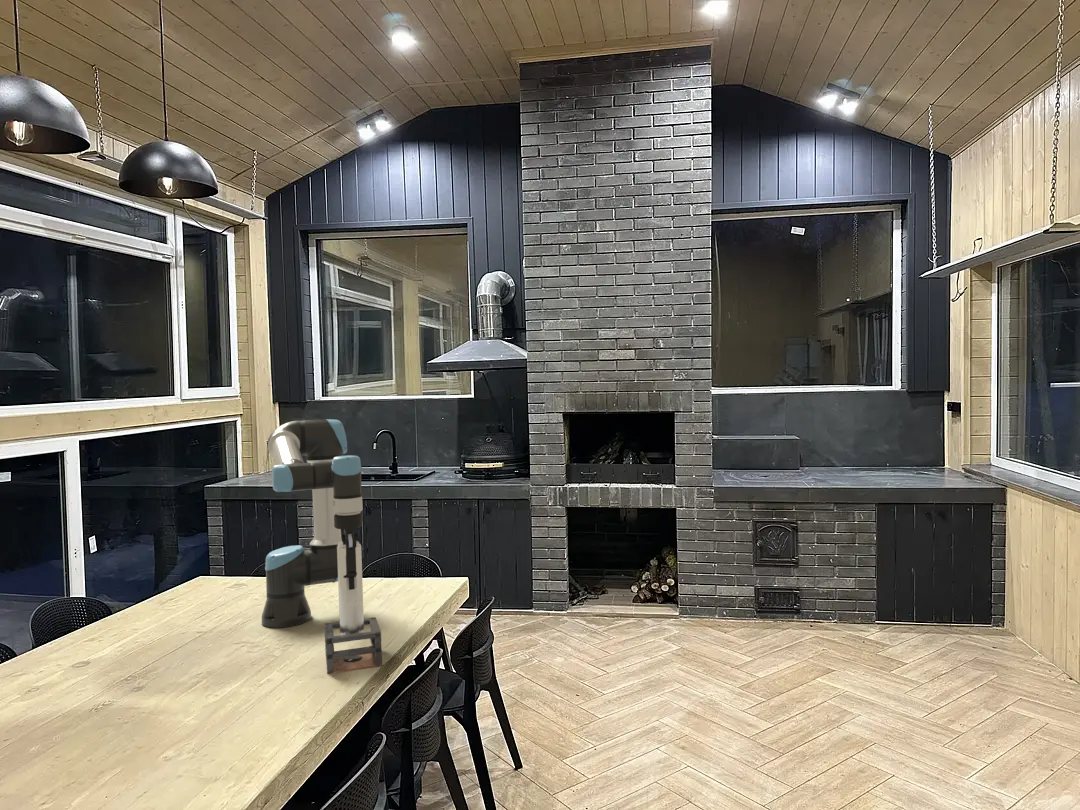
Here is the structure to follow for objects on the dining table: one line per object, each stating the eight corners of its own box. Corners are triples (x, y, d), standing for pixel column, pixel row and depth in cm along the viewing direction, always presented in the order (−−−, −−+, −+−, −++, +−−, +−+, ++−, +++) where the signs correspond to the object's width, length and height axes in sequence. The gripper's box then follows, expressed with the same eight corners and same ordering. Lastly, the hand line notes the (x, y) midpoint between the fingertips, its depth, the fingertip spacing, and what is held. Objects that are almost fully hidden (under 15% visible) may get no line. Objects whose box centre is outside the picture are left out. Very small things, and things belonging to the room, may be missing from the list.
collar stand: (325, 655, 198) (324, 623, 198) (376, 648, 203) (375, 617, 202) (327, 674, 185) (326, 639, 185) (382, 666, 189) (380, 632, 189)
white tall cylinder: (357, 637, 190) (354, 544, 189) (335, 636, 191) (332, 544, 190) (368, 629, 196) (365, 539, 195) (346, 628, 197) (343, 539, 197)
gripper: (332, 508, 201) (335, 590, 201) (335, 519, 183) (338, 608, 183) (359, 506, 203) (362, 587, 203) (365, 516, 185) (368, 605, 186)
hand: (351, 597), depth 193 cm, fingers closed on white tall cylinder, 5 cm apart
